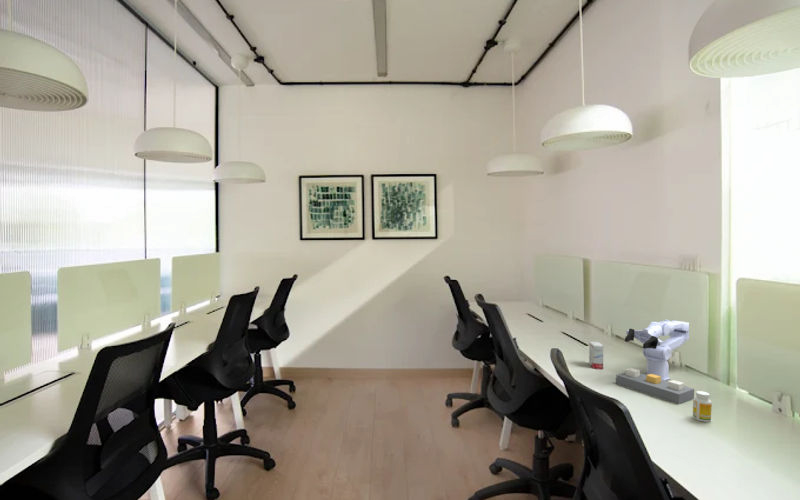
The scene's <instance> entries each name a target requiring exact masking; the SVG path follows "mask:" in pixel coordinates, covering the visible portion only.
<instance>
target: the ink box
mask: <svg viewBox="0 0 800 500" xmlns="http://www.w3.org/2000/svg"><path fill="white" fill-rule="evenodd" d="M588 343H589V344H588V345H589V351H588V364H589V365H590V366H591V367H592V368H593V369H595V370H596V369H598V370H604V345H603V344H602V343H600V342H598V341H589V342H588Z"/></svg>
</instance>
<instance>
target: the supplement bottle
mask: <svg viewBox="0 0 800 500" xmlns="http://www.w3.org/2000/svg"><path fill="white" fill-rule="evenodd" d="M710 396H711V395H710V393H708V392H706V391H702V390H696V391H695V396H694V399H692V401H693V402H692V417H693V419H694V420H696V421H700V422H705V423H709V422H711V421H712V403H713V402H712V400H710V398H711V397H710Z"/></svg>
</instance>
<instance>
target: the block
mask: <svg viewBox="0 0 800 500" xmlns="http://www.w3.org/2000/svg"><path fill="white" fill-rule="evenodd" d="M625 372H626V375H627V376H631V377H634V378H636V377H639V376H640V373H641V371H640V369H636V368H632V367H630V368H625Z"/></svg>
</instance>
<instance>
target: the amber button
mask: <svg viewBox="0 0 800 500" xmlns="http://www.w3.org/2000/svg"><path fill="white" fill-rule="evenodd" d="M645 375H646V381H647V382H651V383H654V384H658V383H661V376H658V375H654V374H649V375H647V374H645Z"/></svg>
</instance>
